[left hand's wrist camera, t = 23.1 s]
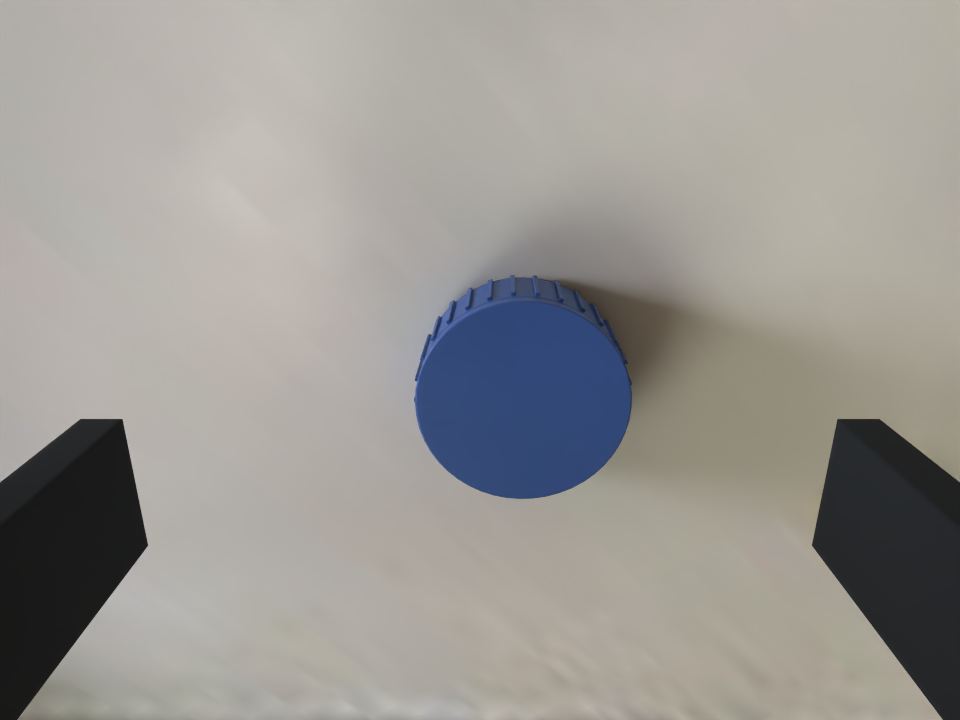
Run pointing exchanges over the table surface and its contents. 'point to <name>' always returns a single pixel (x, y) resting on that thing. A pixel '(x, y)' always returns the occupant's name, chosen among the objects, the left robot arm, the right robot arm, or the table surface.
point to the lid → (522, 389)
